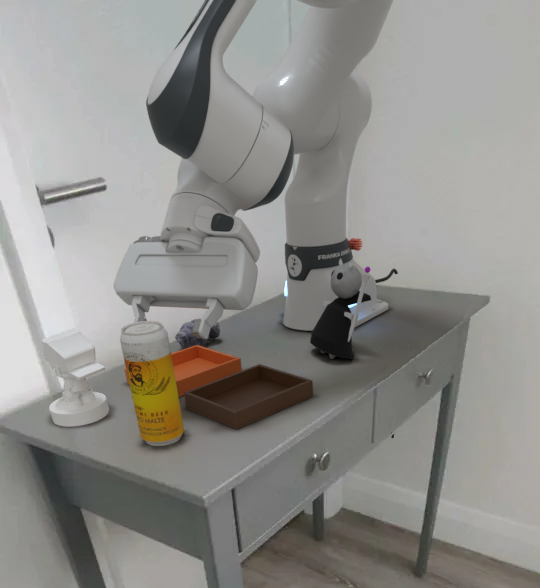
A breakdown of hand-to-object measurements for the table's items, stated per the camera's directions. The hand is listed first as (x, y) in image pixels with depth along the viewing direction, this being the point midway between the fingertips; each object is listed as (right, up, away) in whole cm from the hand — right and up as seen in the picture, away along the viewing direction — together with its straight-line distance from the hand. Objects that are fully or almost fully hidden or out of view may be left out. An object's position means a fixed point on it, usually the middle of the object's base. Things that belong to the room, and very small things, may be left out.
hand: (169, 334), depth 85 cm
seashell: (0, +13, +36) cm, 39 cm away
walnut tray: (+10, -5, +13) cm, 17 cm away
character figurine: (-15, -7, +14) cm, 22 cm away
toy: (+26, +8, +27) cm, 38 cm away
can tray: (-1, +2, +23) cm, 23 cm away
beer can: (-2, -13, +5) cm, 14 cm away
